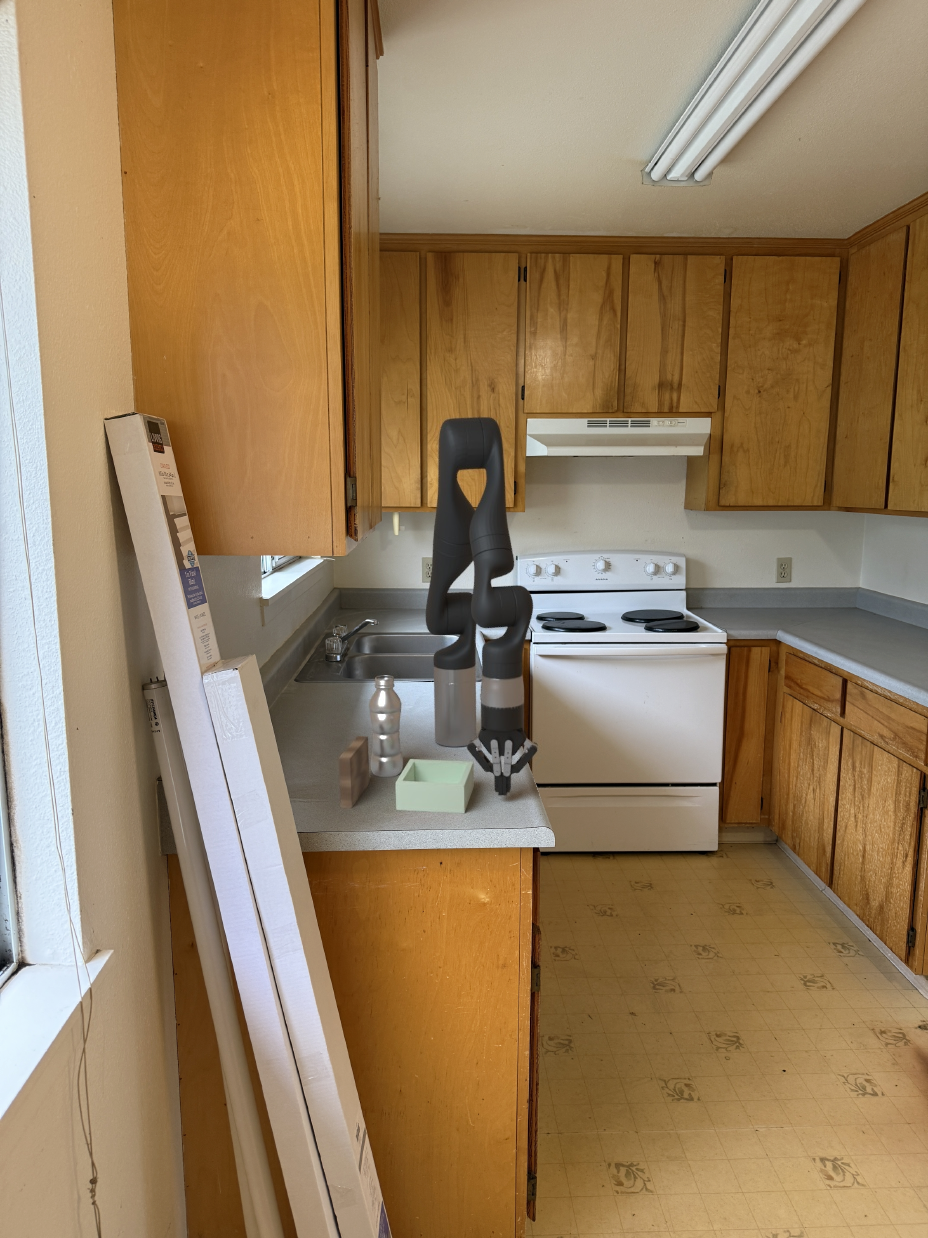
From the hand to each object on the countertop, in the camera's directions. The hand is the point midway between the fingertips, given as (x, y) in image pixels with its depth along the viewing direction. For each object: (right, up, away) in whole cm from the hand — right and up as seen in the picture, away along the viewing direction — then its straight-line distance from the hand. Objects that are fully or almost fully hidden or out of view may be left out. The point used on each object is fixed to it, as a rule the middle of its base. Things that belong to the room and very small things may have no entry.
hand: (502, 793), depth 145 cm
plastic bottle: (-22, 0, +16) cm, 27 cm away
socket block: (-12, -1, +2) cm, 12 cm away
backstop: (-16, -2, +3) cm, 16 cm away
